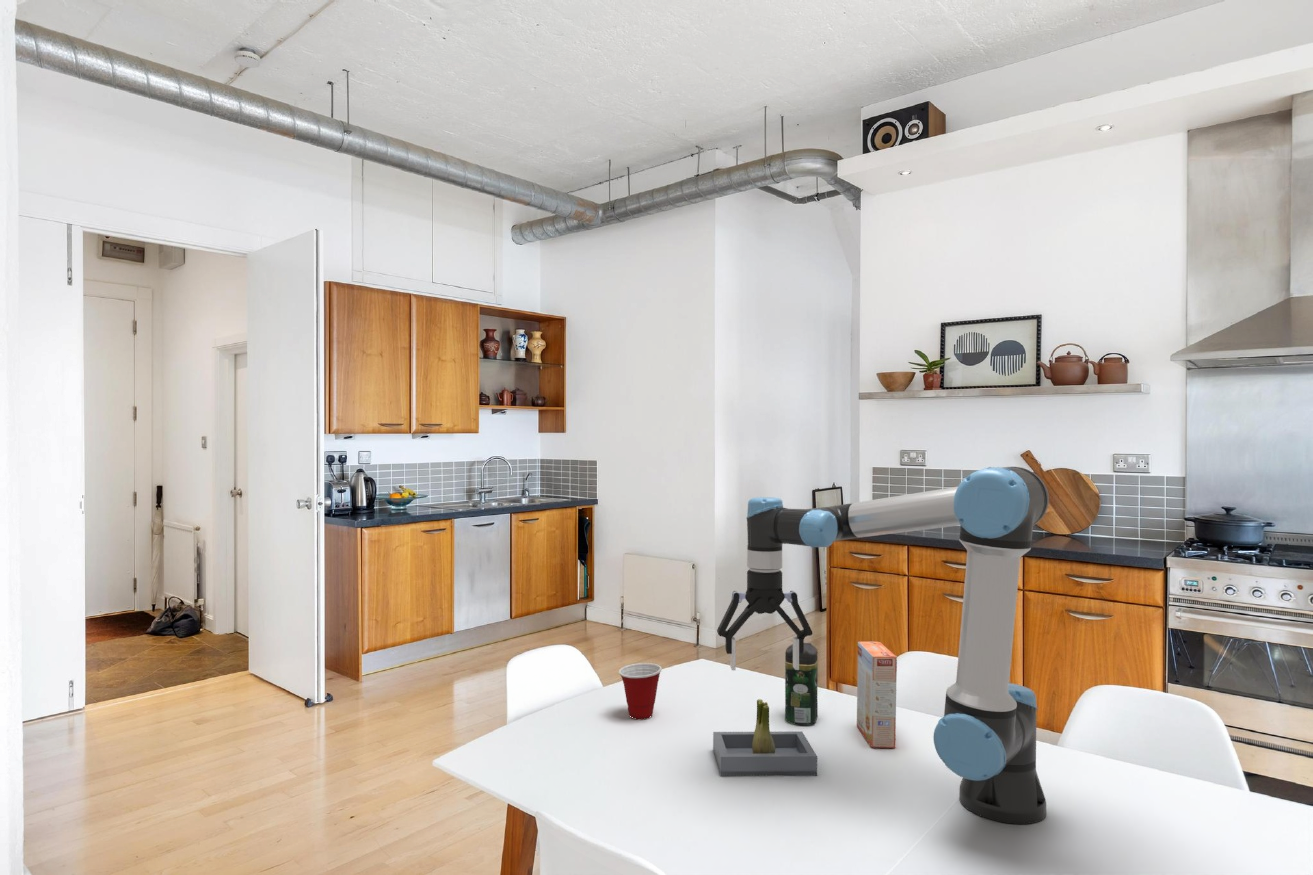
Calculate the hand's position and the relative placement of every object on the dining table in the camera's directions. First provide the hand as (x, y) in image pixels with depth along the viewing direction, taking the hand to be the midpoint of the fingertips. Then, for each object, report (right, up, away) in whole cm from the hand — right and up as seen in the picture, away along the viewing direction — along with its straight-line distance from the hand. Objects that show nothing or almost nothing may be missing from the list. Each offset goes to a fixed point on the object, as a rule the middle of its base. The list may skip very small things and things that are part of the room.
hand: (764, 668), depth 169 cm
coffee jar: (+13, -21, +26) cm, 36 cm away
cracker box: (+28, -21, +15) cm, 38 cm away
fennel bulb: (0, -19, 0) cm, 19 cm away
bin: (0, -20, 0) cm, 20 cm away
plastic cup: (-27, -20, +28) cm, 44 cm away
